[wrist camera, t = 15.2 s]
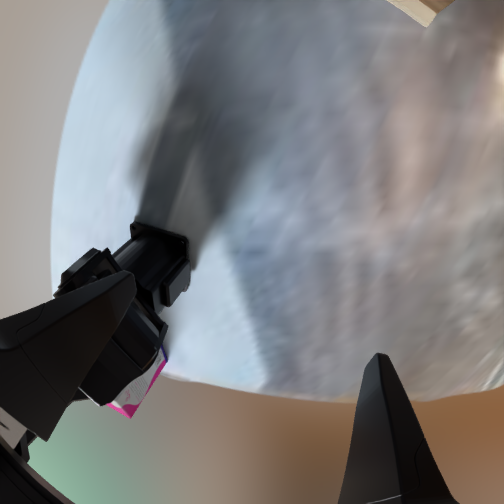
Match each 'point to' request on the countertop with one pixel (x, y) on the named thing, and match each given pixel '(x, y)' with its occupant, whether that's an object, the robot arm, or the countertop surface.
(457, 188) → the countertop surface
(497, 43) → the countertop surface
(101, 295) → the robot arm
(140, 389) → the supplement box
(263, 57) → the countertop surface
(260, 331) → the countertop surface
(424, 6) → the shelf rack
